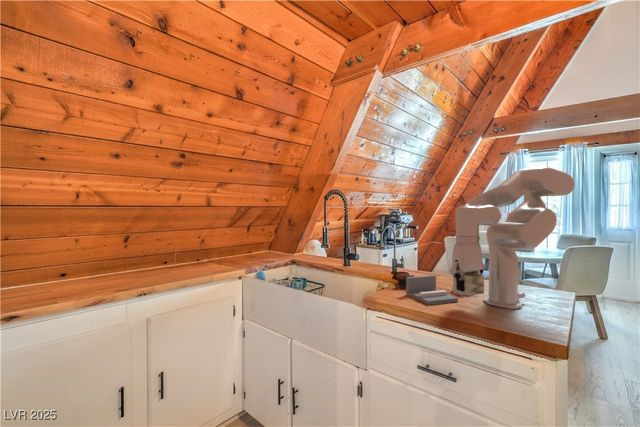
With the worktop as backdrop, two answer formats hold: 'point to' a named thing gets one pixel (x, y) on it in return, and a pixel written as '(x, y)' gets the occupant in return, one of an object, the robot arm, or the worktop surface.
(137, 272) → the worktop surface
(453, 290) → the wall hook
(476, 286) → the saddle block
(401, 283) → the pottery mug
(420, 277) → the board
